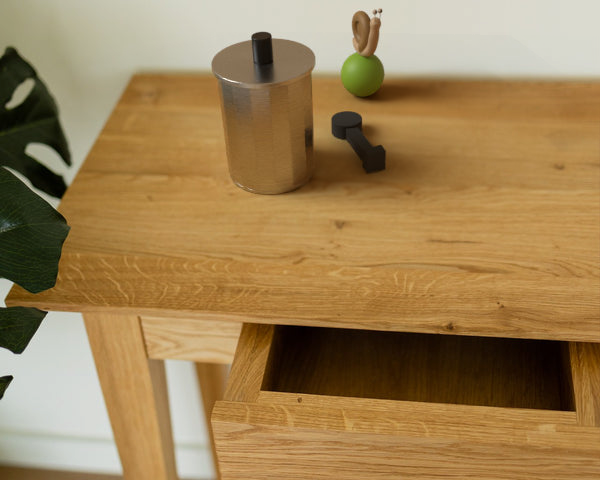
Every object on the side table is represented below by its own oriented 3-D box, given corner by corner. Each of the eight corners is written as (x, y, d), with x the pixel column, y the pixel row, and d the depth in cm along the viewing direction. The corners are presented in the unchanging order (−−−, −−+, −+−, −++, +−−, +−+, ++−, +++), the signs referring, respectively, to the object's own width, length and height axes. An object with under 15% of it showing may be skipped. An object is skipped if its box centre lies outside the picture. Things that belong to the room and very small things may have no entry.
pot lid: (296, 41, 81) (294, 7, 79) (330, 82, 74) (330, 46, 71) (201, 59, 79) (197, 25, 77) (227, 103, 72) (223, 67, 69)
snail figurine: (356, 111, 93) (357, 14, 85) (333, 90, 98) (332, -4, 90) (395, 101, 95) (399, 5, 87) (371, 80, 99) (373, -13, 91)
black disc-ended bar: (355, 122, 91) (355, 103, 90) (391, 168, 84) (392, 149, 82) (327, 127, 91) (326, 109, 89) (361, 175, 83) (361, 155, 81)
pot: (298, 141, 89) (293, 38, 80) (326, 183, 82) (324, 75, 74) (220, 158, 87) (206, 54, 78) (243, 202, 80) (230, 94, 72)
